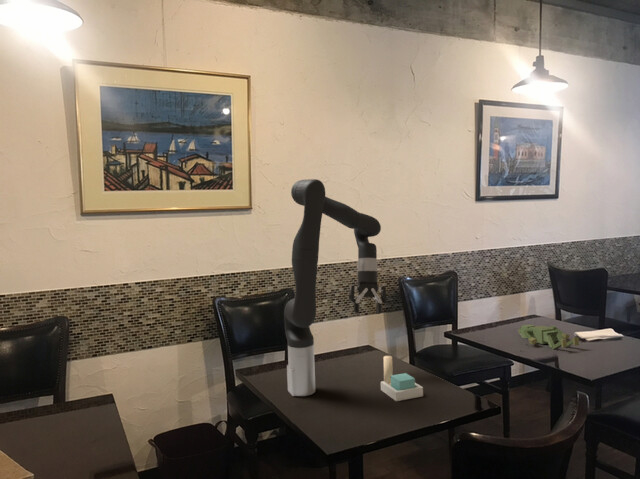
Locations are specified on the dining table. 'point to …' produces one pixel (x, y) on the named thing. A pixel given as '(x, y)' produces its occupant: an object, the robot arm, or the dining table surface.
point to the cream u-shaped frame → (402, 392)
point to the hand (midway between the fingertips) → (367, 313)
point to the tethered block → (396, 376)
